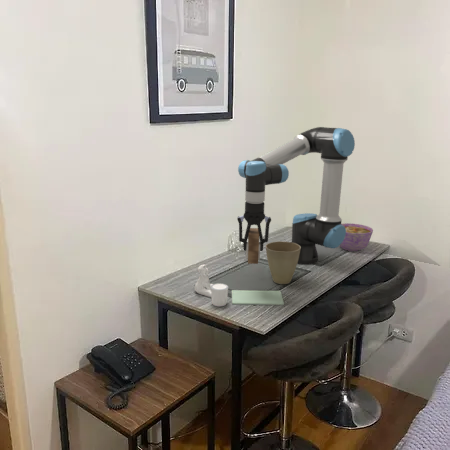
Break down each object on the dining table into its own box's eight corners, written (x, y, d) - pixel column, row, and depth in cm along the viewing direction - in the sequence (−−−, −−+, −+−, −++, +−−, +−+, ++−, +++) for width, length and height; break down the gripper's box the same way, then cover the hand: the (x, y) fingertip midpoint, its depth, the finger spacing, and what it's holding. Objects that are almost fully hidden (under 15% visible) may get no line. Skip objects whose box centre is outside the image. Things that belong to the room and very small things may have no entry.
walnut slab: (257, 256, 188) (258, 228, 184) (258, 263, 179) (259, 234, 176) (247, 255, 188) (248, 228, 184) (248, 263, 179) (248, 234, 176)
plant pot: (291, 273, 207) (293, 240, 203) (303, 286, 193) (306, 250, 189) (260, 275, 204) (261, 242, 200) (270, 289, 190) (271, 252, 186)
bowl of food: (363, 243, 253) (365, 223, 250) (376, 255, 234) (378, 233, 231) (328, 243, 252) (329, 223, 249) (338, 255, 233) (339, 233, 230)
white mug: (228, 306, 173) (229, 289, 171) (210, 307, 173) (211, 290, 171) (227, 299, 180) (227, 282, 178) (210, 299, 179) (210, 283, 177)
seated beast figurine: (213, 298, 181) (213, 269, 178) (191, 296, 182) (191, 268, 179) (217, 288, 190) (217, 261, 187) (197, 287, 191) (197, 260, 188)
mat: (280, 292, 187) (280, 290, 187) (284, 304, 176) (284, 303, 175) (231, 291, 187) (231, 290, 187) (232, 304, 175) (232, 302, 175)
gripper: (276, 199, 180) (273, 255, 186) (232, 199, 181) (231, 254, 187) (277, 204, 173) (274, 262, 179) (232, 203, 173) (231, 260, 180)
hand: (252, 258), depth 183 cm, fingers closed on walnut slab, 4 cm apart
